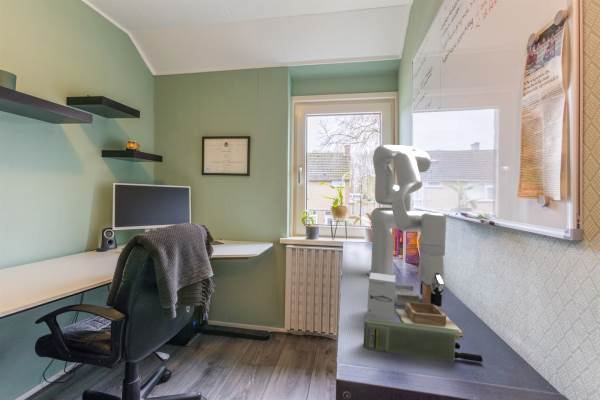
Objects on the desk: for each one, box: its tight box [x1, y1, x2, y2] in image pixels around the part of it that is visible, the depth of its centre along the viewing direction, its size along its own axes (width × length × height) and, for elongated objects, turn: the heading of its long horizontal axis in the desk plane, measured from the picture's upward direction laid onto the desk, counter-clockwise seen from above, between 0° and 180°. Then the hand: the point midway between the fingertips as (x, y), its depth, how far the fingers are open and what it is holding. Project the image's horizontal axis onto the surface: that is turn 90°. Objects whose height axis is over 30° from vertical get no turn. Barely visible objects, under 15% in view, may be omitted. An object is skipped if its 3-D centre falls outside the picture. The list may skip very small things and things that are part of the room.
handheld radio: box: [363, 317, 483, 363], centre depth 59 cm, size 7×3×25 cm
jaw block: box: [421, 283, 436, 304], centre depth 88 cm, size 4×4×7 cm
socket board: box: [395, 302, 464, 337], centre depth 75 cm, size 12×14×4 cm
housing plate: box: [394, 283, 420, 307], centre depth 90 cm, size 8×7×4 cm
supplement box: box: [366, 272, 397, 322], centre depth 76 cm, size 7×7×13 cm
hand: (430, 300), depth 88 cm, fingers open, 9 cm apart
